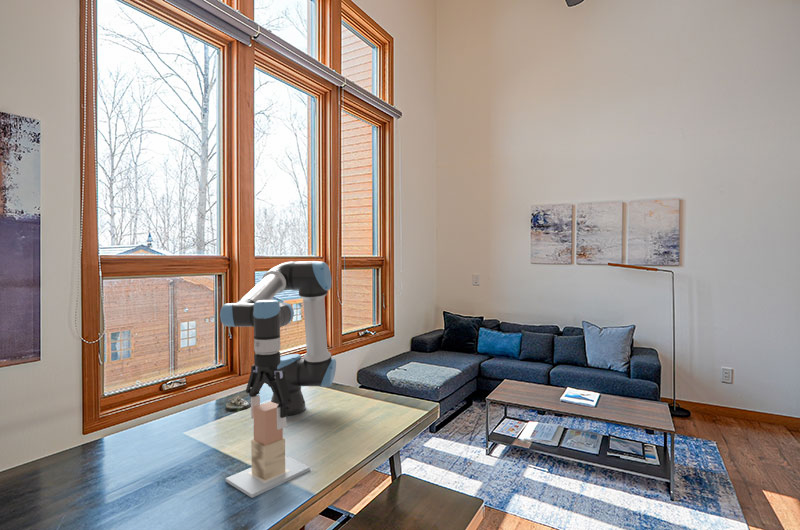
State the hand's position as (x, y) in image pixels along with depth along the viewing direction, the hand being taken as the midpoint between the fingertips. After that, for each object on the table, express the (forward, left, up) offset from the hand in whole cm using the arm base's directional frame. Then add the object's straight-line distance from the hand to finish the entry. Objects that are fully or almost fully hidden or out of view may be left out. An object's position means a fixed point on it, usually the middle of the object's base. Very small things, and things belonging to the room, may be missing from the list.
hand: (268, 422), depth 132 cm
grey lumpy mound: (-63, +26, -17) cm, 71 cm away
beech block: (0, 0, -15) cm, 15 cm away
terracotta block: (0, 0, -5) cm, 5 cm away
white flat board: (0, 0, -16) cm, 16 cm away
